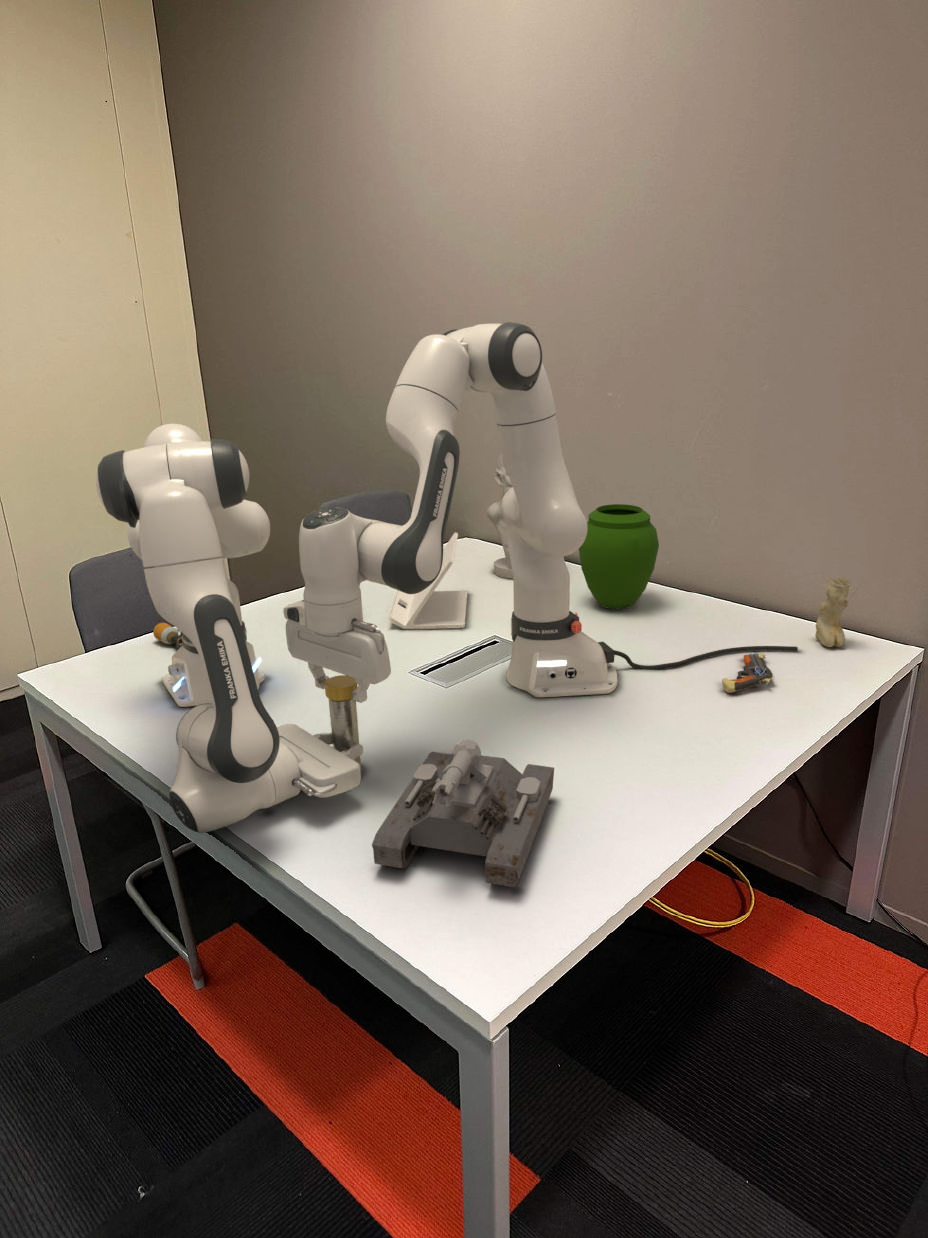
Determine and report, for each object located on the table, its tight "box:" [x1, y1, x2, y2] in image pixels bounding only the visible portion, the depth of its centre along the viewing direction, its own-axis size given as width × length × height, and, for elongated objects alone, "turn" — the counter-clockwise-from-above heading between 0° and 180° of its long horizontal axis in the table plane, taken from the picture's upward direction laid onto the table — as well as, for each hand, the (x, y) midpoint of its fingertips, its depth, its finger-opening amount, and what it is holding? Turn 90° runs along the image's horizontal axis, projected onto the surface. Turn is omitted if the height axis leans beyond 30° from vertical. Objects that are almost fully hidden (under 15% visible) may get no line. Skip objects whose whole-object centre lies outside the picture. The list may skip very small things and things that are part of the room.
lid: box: [324, 674, 358, 701], centre depth 137 cm, size 5×5×2 cm
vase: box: [578, 503, 660, 610], centre depth 210 cm, size 20×20×24 cm
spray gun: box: [152, 622, 183, 647], centre depth 201 cm, size 4×17×15 cm
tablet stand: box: [388, 531, 468, 630], centre depth 211 cm, size 18×25×17 cm
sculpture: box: [814, 576, 852, 648], centre depth 185 cm, size 6×7×15 cm
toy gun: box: [721, 652, 775, 694], centre depth 172 cm, size 3×19×10 cm
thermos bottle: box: [328, 698, 362, 772], centre depth 139 cm, size 4×4×16 cm
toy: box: [371, 739, 555, 888], centre depth 122 cm, size 25×20×15 cm
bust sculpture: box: [485, 453, 513, 579], centre depth 231 cm, size 16×24×35 cm
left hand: (350, 741), depth 141 cm, fingers closed on thermos bottle, 4 cm apart
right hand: (341, 693), depth 137 cm, fingers open, 7 cm apart
